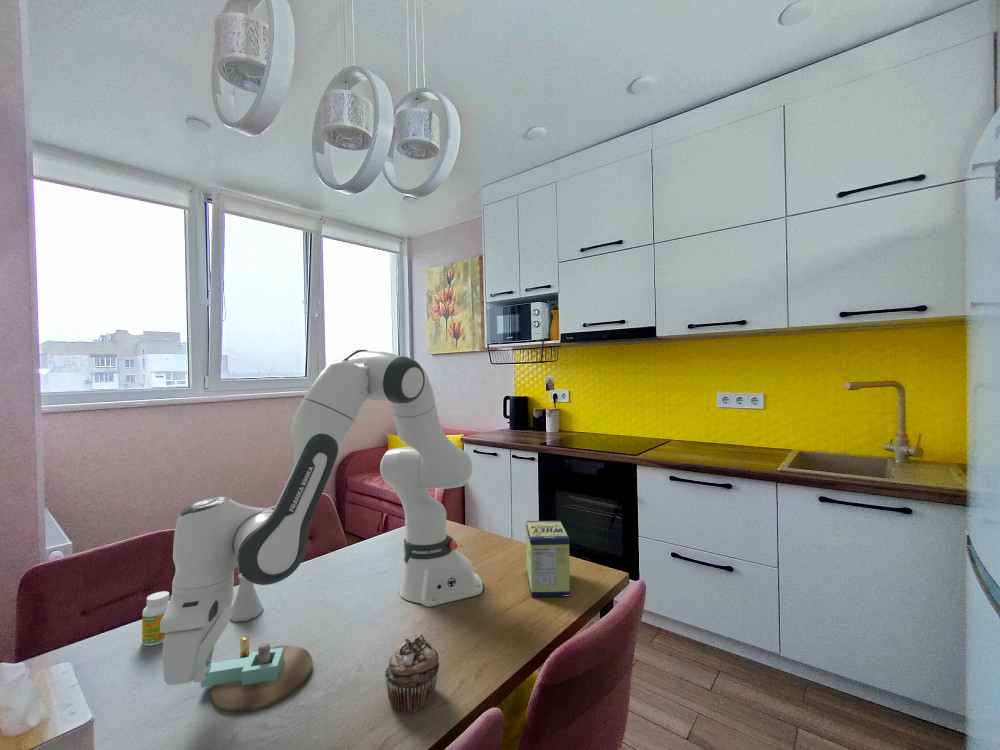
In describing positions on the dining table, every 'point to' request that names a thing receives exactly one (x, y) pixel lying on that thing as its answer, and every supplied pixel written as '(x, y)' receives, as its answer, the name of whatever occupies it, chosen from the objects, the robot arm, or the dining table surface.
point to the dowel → (244, 647)
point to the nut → (245, 669)
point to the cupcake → (412, 675)
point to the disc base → (268, 692)
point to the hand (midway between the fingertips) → (202, 676)
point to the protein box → (547, 558)
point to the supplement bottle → (154, 618)
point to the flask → (246, 602)
